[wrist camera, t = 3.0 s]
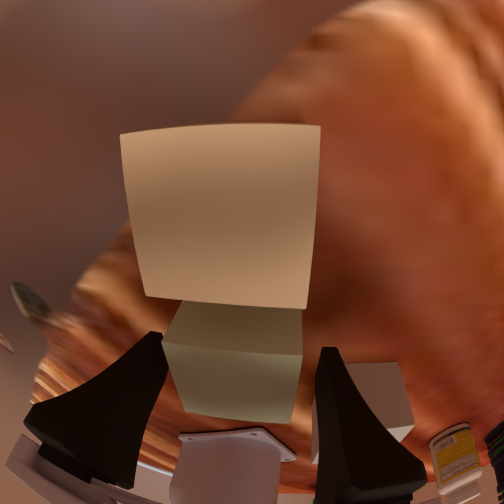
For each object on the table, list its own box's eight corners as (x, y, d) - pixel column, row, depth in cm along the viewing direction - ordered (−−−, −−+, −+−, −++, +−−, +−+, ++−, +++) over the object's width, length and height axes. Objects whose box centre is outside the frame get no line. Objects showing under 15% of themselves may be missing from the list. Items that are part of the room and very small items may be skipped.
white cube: (375, 402, 18) (384, 458, 13) (311, 404, 18) (311, 464, 14) (397, 360, 15) (415, 424, 11) (323, 362, 16) (327, 433, 11)
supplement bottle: (456, 438, 21) (470, 500, 12) (421, 448, 22) (431, 515, 13) (476, 416, 19) (496, 485, 10) (439, 428, 20) (455, 504, 11)
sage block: (292, 350, 16) (289, 423, 11) (207, 343, 16) (185, 411, 12) (300, 277, 13) (303, 355, 9) (197, 271, 14) (161, 341, 9)
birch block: (301, 238, 12) (305, 308, 8) (191, 233, 13) (146, 295, 9) (306, 123, 10) (320, 125, 6) (184, 125, 11) (119, 134, 6)
